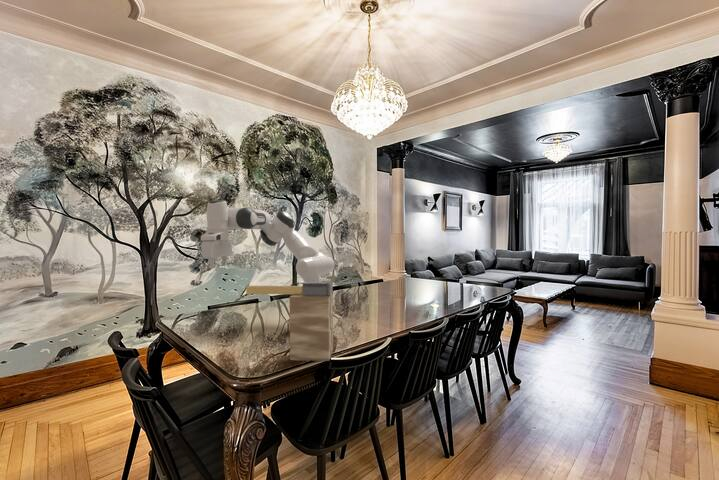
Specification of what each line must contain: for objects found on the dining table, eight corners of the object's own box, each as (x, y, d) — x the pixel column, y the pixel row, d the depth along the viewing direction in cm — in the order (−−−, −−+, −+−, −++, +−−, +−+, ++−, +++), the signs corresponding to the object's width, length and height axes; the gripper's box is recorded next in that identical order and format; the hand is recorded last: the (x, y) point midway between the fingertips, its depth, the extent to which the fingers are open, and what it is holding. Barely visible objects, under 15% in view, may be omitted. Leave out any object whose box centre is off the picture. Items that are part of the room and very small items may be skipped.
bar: (249, 292, 139) (249, 285, 139) (303, 292, 138) (303, 286, 138) (246, 293, 136) (246, 286, 136) (301, 294, 135) (301, 287, 135)
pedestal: (297, 349, 143) (297, 291, 143) (333, 350, 142) (332, 291, 142) (290, 360, 131) (289, 297, 131) (328, 360, 130) (328, 297, 130)
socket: (307, 292, 140) (306, 280, 140) (332, 292, 139) (332, 280, 139) (302, 296, 132) (302, 283, 132) (329, 296, 132) (329, 283, 132)
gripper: (222, 235, 153) (222, 264, 153) (198, 236, 132) (198, 269, 133) (235, 235, 152) (235, 264, 153) (212, 236, 132) (213, 269, 132)
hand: (218, 267), depth 143 cm, fingers open, 8 cm apart
